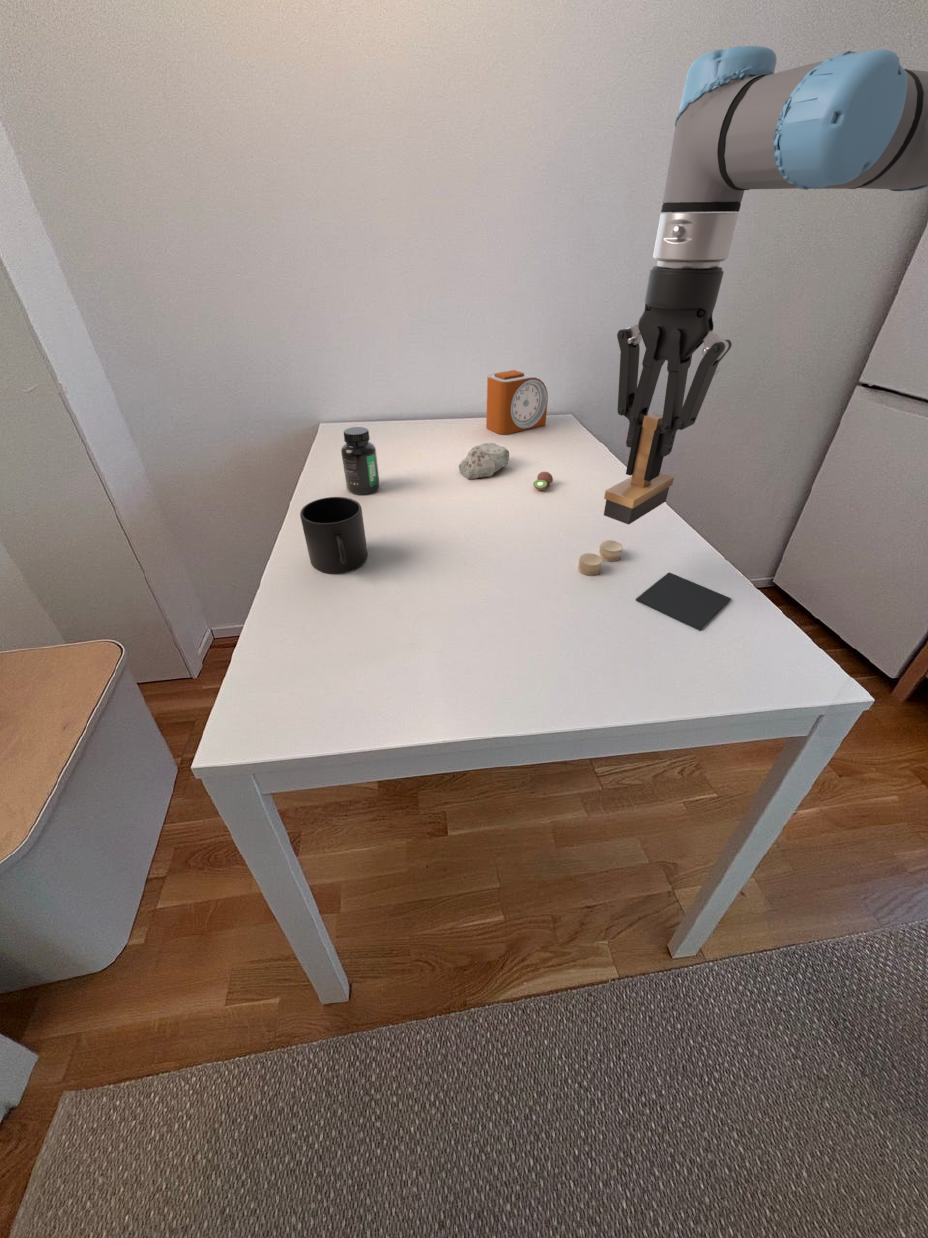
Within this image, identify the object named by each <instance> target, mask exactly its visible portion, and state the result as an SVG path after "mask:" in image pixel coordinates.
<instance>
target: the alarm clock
mask: <svg viewBox="0 0 928 1238" xmlns="http://www.w3.org/2000/svg"><path fill="white" fill-rule="evenodd" d="M486 385H487V386H486V419H485V420H486V423H485V424H486V425H485V428H486V429H487V430H489V431H490V432H493V433H495V434H498V435H510V434H514V433H519V432H522V431H526V430H530V429H534V428H535V429H536V428H539V427H543V426H546V422H547V414H548V413H547V412H548V401H549V398H548V397H549V395H548V389H547V386H546V385H545V382H544V381H542V380H541V379H540V378H538V377H536V376H533V375H529V374H526V373H525V372H521V371H519V370H516V369H513V370H512V369H511V370H506V371H500V372H496V373H493V374H489V375H487V380H486Z"/></svg>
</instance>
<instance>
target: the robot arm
mask: <svg viewBox="0 0 928 1238" xmlns="http://www.w3.org/2000/svg"><path fill="white" fill-rule="evenodd" d="M777 59H778V58H777V54H776V52H775V51H774V50H773V49H772V48H769V47H767V46H760V45H759V46H758V45H739V46H732V47H728V48H725V49H714V50H712V51H708V52H706V53H704V54H702V55H700V56H699V57H697V58H696V59H695V60H694V61H693V62H692V64H691V65H690V67H689V69H688V71H687V74H686V78H685V81H684V86H683V90H682V95H681V100H680V104H679V109H678V112H677V116H676V117H675V120H674V133H673V140H672V145H671V151H670V157H669V164H668V169H667V174H666V181H665V187H664V192H663V198H662V205H661V210H660V212H661V213H660V215H659V221H658V227H657V232H656V237H655V244H654V247H653V248H654V249H653V254H652V258H653V259H654V260H655V261H657V264H656V265H654V266H652V269H650V270H649V273H648V274H649V275H648V281H647V286H646V290H645V291H646V292H645V296H644V304H645V305H644V310H643V311H642V314H641V316H640V317H639V319H638V323H635V324H634V325H632V326H630V327H626V328H622V329H619V330H618V331H617V334H616V338H617V343H618V347H619V351H620V355H619V356H620V357H619V374H618V375H619V376H618V391H617V393H618V395H617V414H618V415H619V416H624V417H625V418H626V419H627V420H628V423H629V424H628V426H629V427H628V430H627V434H626V435H627V436H626V440H625V444H626V447H627V448H629V455H628V460H627V465H626V470H625V475H627V476H629V477H632V474H633V469H634V464H635V459H636V454H637V449H638V445H639V440H640V435H641V430H642V425H643V420H644V416H646V415H648V414H649V410H650V407H651V404H652V401H653V397H654V394H655V391H656V388H657V384H658V381H659V377H660V374H661V371H662V369H663V368H662V367H663V366H664V364H665V363H666V361H667V365H666V371H667V372H668V373H667V380H666V386H665V387H666V388H665V395H664V403H663V411H662V415H663V418H662V426H661V427H659V428H658V429H656V430H654V435H653V439H652V444H651V449H650V453H649V458H648V462H647V467H646V472H645V476H644V480H646V481H651V480H652V479H654V478H656V477H658V476H659V474H660V473H661V469H662V465H663V460H664V458H665V457H667V456H669V455H671V452H672V451H673V448H674V442H675V438H676V435H677V431H678V430H680V431H683V430H685V429H687V428H689V427H691V426H693V425H694V424H695V423H696V420H697V418H698V417H699V413H700V411H701V409H702V406H703V403H704V401H705V398H706V396H707V393H708V391H709V388H710V386H711V383H712V380H713V379H714V376H715V373H716V372H717V369H718V366H719V365H720V362H721V361H722V360H723V359H724V357H725V356H726V355H727V354H728V352H729V351H730V350H731V348H732V345H733V343H732V341H731V340H730V339H723V338H721V337H720V336H719V335H718V334H717V333H716V332H714V327H715V326H714V321H713V320H714V319H713V313H714V310H715V307H716V304H717V302H718V301H717V300H718V297H719V292H720V288H721V285H722V284H721V283H722V280H723V277H724V273H725V271H724V270H723V267H721V266H720V265H721V262H724V261H726V260H727V259H728V258H729V254H730V249H731V246H732V240H733V237H734V233H735V228H736V225H737V220H738V216H739V212H740V210H741V206H742V201H743V198H744V194H745V191H750V190H787V189H790V190H792V189H799V190H806V191H807V190H827V189H828V190H836V189H838V190H843V189H844V190H845V189H846V190H847V189H848V190H856V189H867V190H868V189H869V190H888V191H890V192H891V191H892V192H910V191H920V190H923V189H928V70H916V69H907V68H904V67H903V66H902V65H901V63H900V57H899V56H898V54H897V53H896V52H895V51H893V50H889V49H887V48H879V49H872V50H866V51H861V52H859V51H858V52H856V51H851V50H848V51H845V52H841V53H837V54H835V55H834V56H833V57H831V58H830V57H829V58H827V59H823V60H820V61H816V62H812V63H809V64H805V65H801V66H798V67H794V68H790V69H786V70H783V71H782V70H781V71H779V72H775V71H776V67H777ZM641 341H642V342H643V344H644V348H645V352H644V354H643V359H642V362H641V363H642V368H641V373H640V377H639V365H640V352H641V351H640V343H641ZM703 344H704V345H703ZM702 345H703V347H702V351H701V354H702V356H703V357H702V358H701V360H700V362H699V364H698V366H697V369H696V371H695V374H694V376H693V379H692V381H691V385H690V387H689V389H688V392H687V394H686V397H685V393H686V385H687V379H688V374H689V369H690V366H691V365H692V359H693V354H694V353H695V352H696V351H697V350H698V349H699V348H700V346H702ZM684 399H685V400H684Z"/></svg>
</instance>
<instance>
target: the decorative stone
mask: <svg viewBox="0 0 928 1238" xmlns="http://www.w3.org/2000/svg"><path fill="white" fill-rule="evenodd" d="M509 460H510V451H509V450H508V448H507V447H505V446H501V445H499V444H496V443H494V442H486V443H485V442H484V443H482V444H478V445H475V446H473V447H472V448H471V449H470V450H469V451H468V453H467V455H466V457H465V458H463V459H462V461H461V462H460V463H459V464H458V471H459V473H461V474H462V476H463V477H465V478H466V479H467V480H475V479H477V478H491V477H492V476H493V475H494V474H495V473H496V472H498V471H499V470H500V469H501V468H502V467H505V466H506V465H507V464H509Z"/></svg>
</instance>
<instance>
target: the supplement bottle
mask: <svg viewBox="0 0 928 1238" xmlns="http://www.w3.org/2000/svg"><path fill="white" fill-rule="evenodd" d="M370 440H371V437H370V432H369V429H368V428H367V427H363V426H352V427H348V428H346V429H344V430H343V441H344V444H343V445H342V446H341V450H340V453H341V459H342V460H341V461H342V466H343V473H344V480H345V484H346V485H345V486H346V490H347V491H348V492H349V493H350V494H353V495H357V496H364V495H371V494H373V493H376V492H377V491H378V490H379V489H380V476H379V475H380V474H379V465H378V457H377V448H376V446H375V444H374V443H372V442H371V441H370Z"/></svg>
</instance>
